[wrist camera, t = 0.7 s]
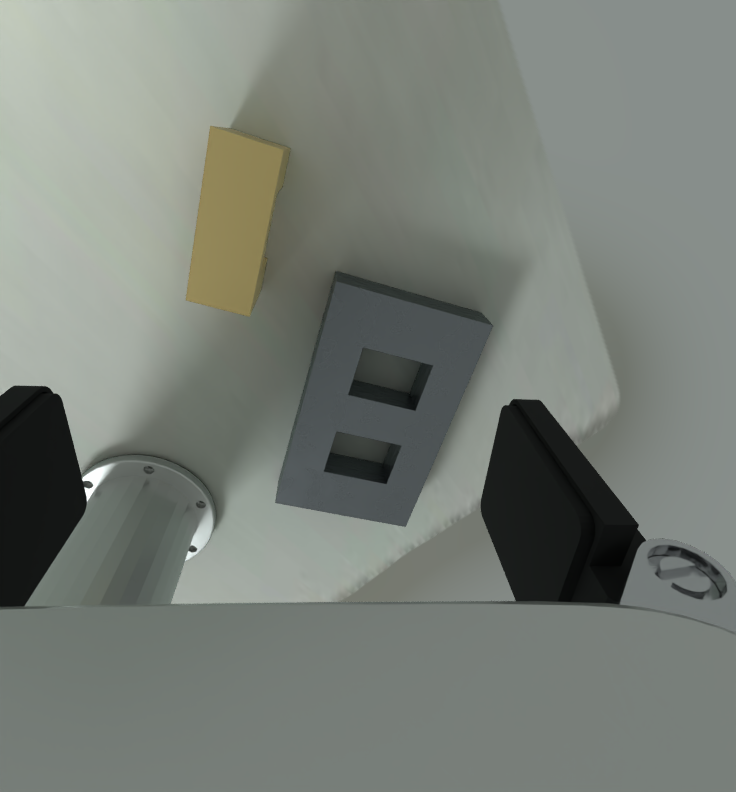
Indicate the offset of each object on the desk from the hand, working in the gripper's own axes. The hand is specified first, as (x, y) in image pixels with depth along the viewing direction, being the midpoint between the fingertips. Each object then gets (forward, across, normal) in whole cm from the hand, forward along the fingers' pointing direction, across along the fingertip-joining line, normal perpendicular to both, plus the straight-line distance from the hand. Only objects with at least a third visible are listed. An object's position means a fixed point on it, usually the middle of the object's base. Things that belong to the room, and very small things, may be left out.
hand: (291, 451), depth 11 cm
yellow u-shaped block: (+28, +5, -1) cm, 28 cm away
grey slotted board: (+28, -5, +14) cm, 31 cm away
